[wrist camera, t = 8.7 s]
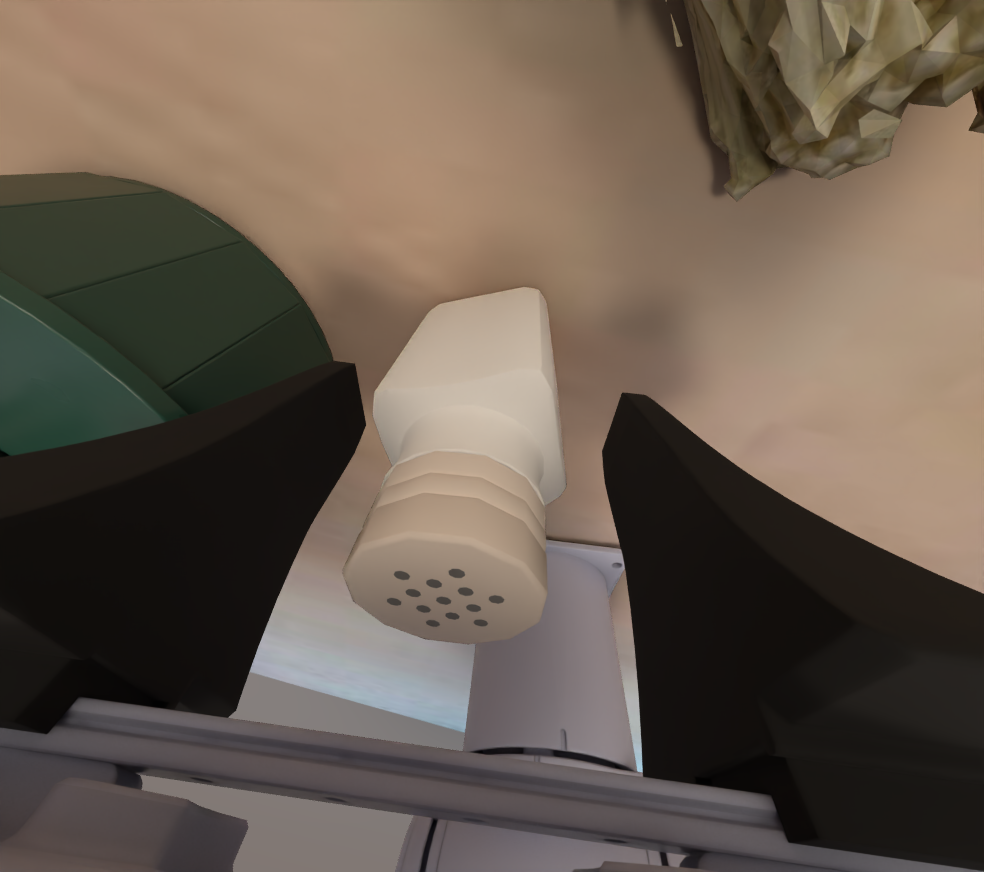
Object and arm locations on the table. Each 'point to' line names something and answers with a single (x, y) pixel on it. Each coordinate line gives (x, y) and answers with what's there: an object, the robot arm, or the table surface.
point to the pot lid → (66, 379)
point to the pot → (158, 284)
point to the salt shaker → (465, 474)
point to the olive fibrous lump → (827, 77)
